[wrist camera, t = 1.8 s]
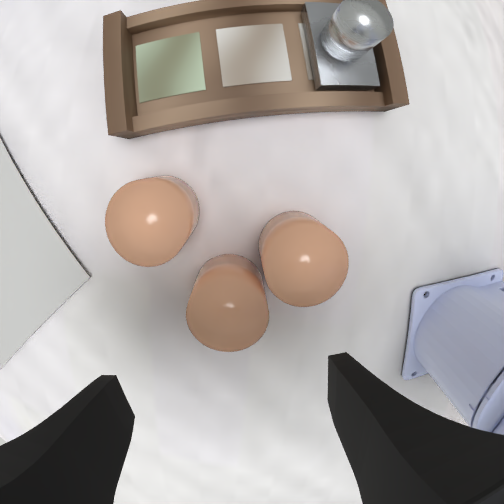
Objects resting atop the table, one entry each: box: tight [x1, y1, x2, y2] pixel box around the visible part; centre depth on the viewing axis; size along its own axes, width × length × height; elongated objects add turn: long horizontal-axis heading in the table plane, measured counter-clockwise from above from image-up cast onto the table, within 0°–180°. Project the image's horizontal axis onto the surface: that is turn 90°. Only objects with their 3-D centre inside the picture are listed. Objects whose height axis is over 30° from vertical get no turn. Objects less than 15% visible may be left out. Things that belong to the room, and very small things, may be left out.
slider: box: [301, 0, 393, 90], centre depth 11 cm, size 3×5×5 cm, turn 7°
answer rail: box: [103, 0, 409, 139], centre depth 13 cm, size 15×7×3 cm, turn 97°
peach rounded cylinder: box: [186, 254, 269, 352], centre depth 17 cm, size 4×4×4 cm
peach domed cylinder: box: [105, 176, 199, 267], centre depth 15 cm, size 4×4×4 cm
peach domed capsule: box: [259, 211, 349, 307], centre depth 16 cm, size 4×4×4 cm
